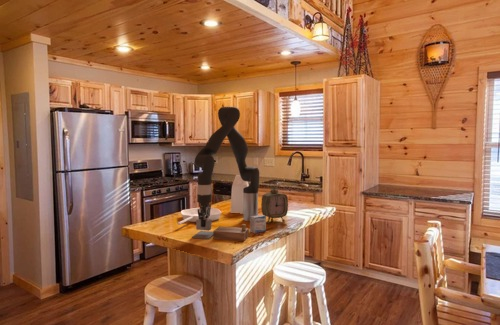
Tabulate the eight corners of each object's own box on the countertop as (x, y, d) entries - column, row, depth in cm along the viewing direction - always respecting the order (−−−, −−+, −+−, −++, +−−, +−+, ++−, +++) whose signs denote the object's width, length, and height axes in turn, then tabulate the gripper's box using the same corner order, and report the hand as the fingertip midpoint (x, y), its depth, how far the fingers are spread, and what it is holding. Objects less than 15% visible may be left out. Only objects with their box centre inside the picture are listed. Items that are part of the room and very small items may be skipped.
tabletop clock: (267, 224, 197) (267, 182, 196) (259, 221, 205) (260, 181, 204) (287, 222, 204) (288, 181, 202) (279, 219, 212) (280, 179, 210)
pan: (228, 215, 221) (228, 209, 221) (201, 231, 182) (201, 223, 182) (190, 213, 229) (190, 206, 229) (157, 227, 190) (157, 220, 189)
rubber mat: (200, 231, 181) (200, 230, 181) (216, 232, 179) (216, 231, 179) (191, 238, 169) (191, 236, 169) (208, 239, 167) (208, 238, 167)
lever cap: (198, 227, 176) (198, 216, 176) (211, 228, 175) (211, 217, 174) (196, 229, 173) (196, 218, 173) (209, 230, 171) (209, 219, 171)
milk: (249, 210, 238) (249, 174, 236) (248, 214, 226) (248, 175, 225) (233, 210, 239) (233, 174, 237) (230, 213, 228) (230, 175, 226)
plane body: (219, 233, 178) (219, 220, 177) (248, 235, 174) (248, 222, 174) (213, 239, 168) (213, 225, 167) (244, 241, 164) (244, 227, 164)
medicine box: (254, 233, 178) (254, 217, 177) (249, 231, 182) (249, 216, 181) (266, 231, 183) (266, 215, 182) (261, 229, 186) (261, 214, 186)
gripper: (202, 190, 180) (202, 222, 181) (192, 194, 167) (192, 228, 168) (215, 191, 179) (215, 223, 180) (206, 195, 165) (206, 229, 166)
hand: (204, 225), depth 174 cm, fingers closed on lever cap, 3 cm apart
